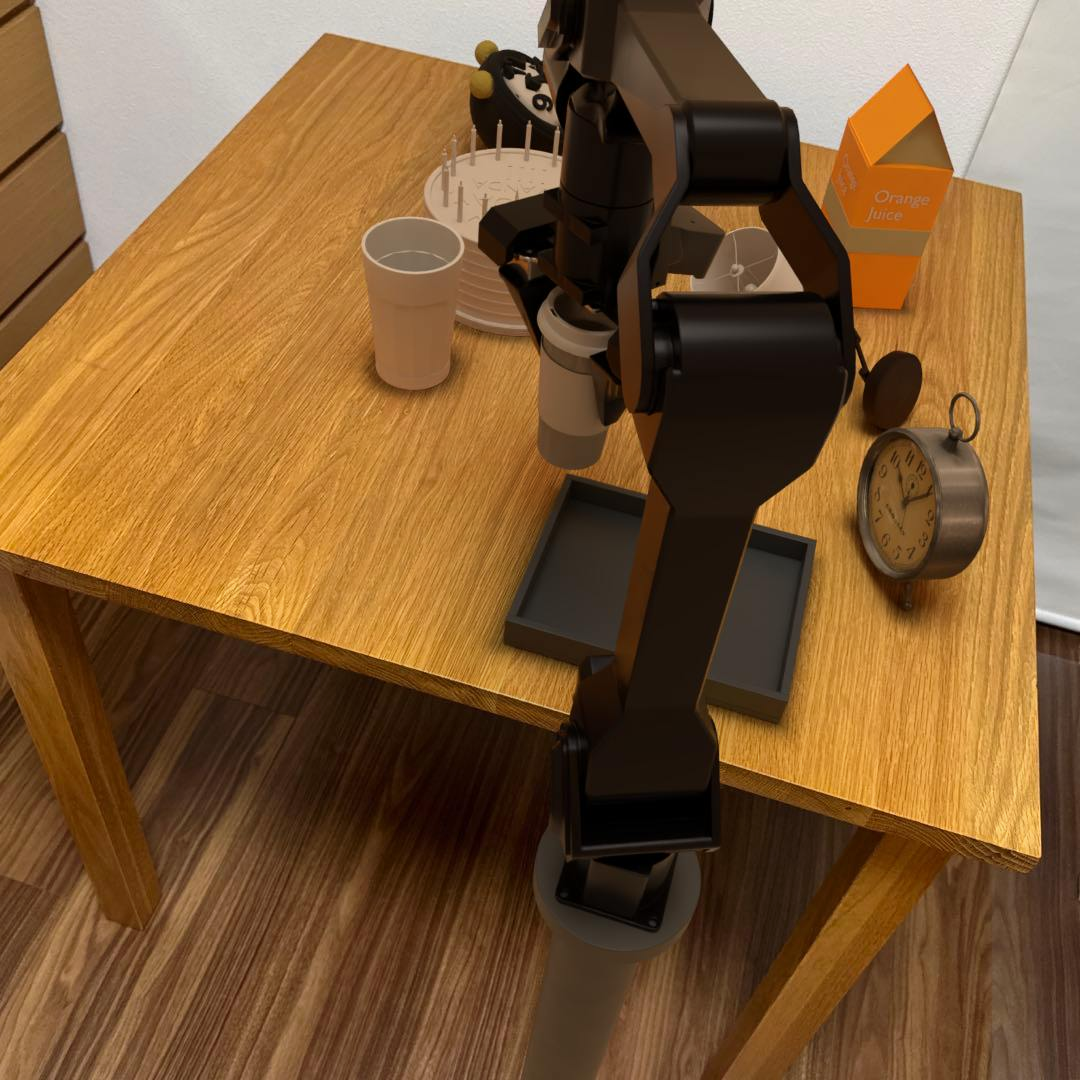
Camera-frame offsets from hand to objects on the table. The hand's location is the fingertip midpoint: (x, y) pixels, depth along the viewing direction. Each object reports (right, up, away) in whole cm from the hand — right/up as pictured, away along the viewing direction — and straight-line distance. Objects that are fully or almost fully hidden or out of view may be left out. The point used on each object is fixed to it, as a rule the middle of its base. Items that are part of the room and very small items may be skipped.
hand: (580, 395), depth 76 cm
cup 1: (-14, +5, +20) cm, 25 cm away
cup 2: (-1, -3, +4) cm, 5 cm away
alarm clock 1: (-4, +31, +46) cm, 56 cm away
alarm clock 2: (+24, -12, +9) cm, 28 cm away
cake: (-5, +15, +30) cm, 34 cm away
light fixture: (+19, +4, +23) cm, 30 cm away
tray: (+6, -14, +5) cm, 16 cm away
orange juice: (+28, +16, +35) cm, 47 cm away
